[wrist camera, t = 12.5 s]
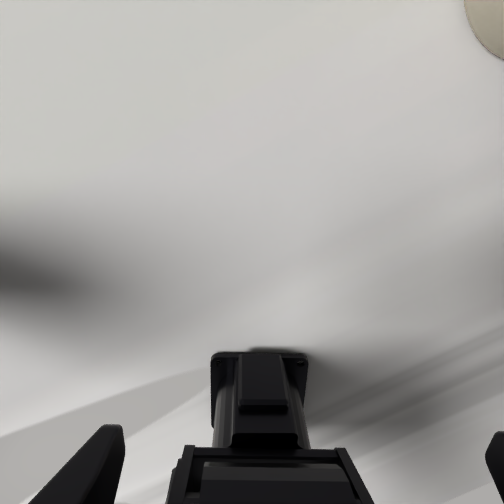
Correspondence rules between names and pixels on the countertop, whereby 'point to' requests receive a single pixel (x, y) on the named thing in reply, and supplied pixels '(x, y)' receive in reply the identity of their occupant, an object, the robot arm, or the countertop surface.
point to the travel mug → (487, 23)
